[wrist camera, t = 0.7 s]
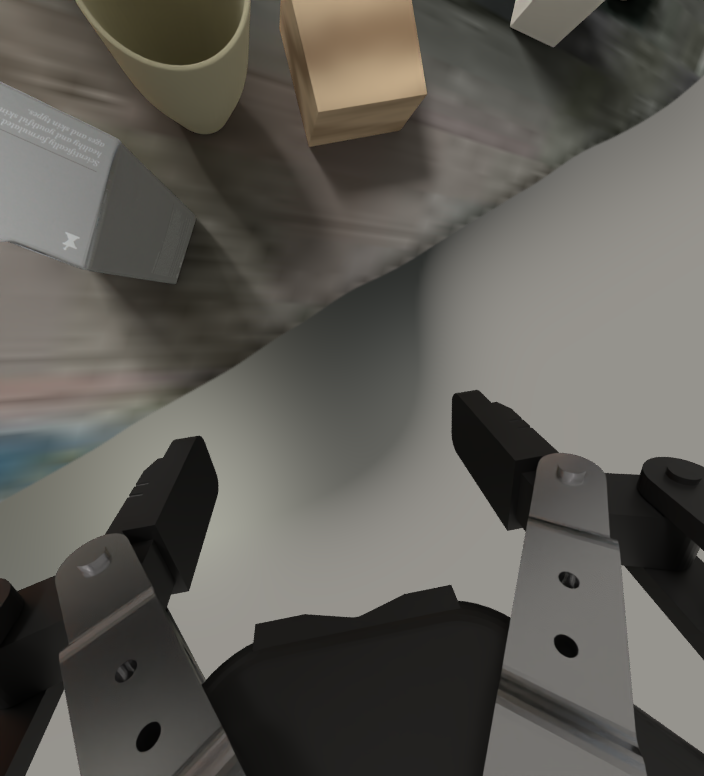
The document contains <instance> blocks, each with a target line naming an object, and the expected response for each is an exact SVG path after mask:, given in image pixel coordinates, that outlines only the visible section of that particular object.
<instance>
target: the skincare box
mask: <svg viewBox="0 0 704 776" xmlns="http://www.w3.org/2000/svg"><path fill="white" fill-rule="evenodd" d="M195 220H196V215H194V214H193V213H192V212H191V211H190V210H189V209H188V208H187V207H186V206H185V205H184V204H183V203H182V202H181V201H180V200H179V199H178V198H177V197H176V196H175V195H174V194H173V193H172V192H171V191H170V190H169V189H168V188H167V187H166V186H165V185H164V184H163V183H162V182H161V181H160V180H159V179H158V178H157V177H156V176H155V175H154V174H153V173H152V172H151V171H149V170H148V169H147V168H146V167H145V166H144V165H143V164H142V163H141V162H140V161H139V160H138V159H137V158H136V157H135V156H134V155H133V154H132V153H131V152H130V151H129V150H128V149H127V148H126V147H125V146H124V145H123V144H122V143H121V141H120V140H119V139H118V138H116V137H114V136H112V135H110V134H108V133H106V132H104V131H102V130H100V129H98V128H96V127H94V126H92V125H90V124H88V123H86V122H84V121H81V120H79V119H77V118H75V117H73V116H71V115H69V114H67V113H65V112H63V111H60V110H58V109H56V108H54V107H52V106H50V105H48V104H46V103H44V102H42V101H40V100H38V99H36V98H34V97H32V96H30V95H28V94H26V93H23V92H21V91H19V90H17V89H15V88H13V87H11V86H9V85H6V84H4V83H2V82H0V242H10V243H12V244H15V245H18V246H20V247H23V248H25V249H28V250H31V251H34V252H36V253H39V254H42V255H44V256H47V257H50V258H52V259H55V260H58V261H61V262H63V263H66V264H69V265H71V266H74V267H77V268H79V269H84V270H89V271H93V272H100V273H106V274H112V275H119V276H125V277H132V278H138V279H144V280H151V281H157V282H164V283H170V284H176V282H177V279H178V276H179V273H180V269H181V266H182V263H183V260H184V256H185V253H186V250H187V247H188V243H189V240H190V237H191V234H192V230H193V227H194V224H195Z"/></svg>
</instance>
